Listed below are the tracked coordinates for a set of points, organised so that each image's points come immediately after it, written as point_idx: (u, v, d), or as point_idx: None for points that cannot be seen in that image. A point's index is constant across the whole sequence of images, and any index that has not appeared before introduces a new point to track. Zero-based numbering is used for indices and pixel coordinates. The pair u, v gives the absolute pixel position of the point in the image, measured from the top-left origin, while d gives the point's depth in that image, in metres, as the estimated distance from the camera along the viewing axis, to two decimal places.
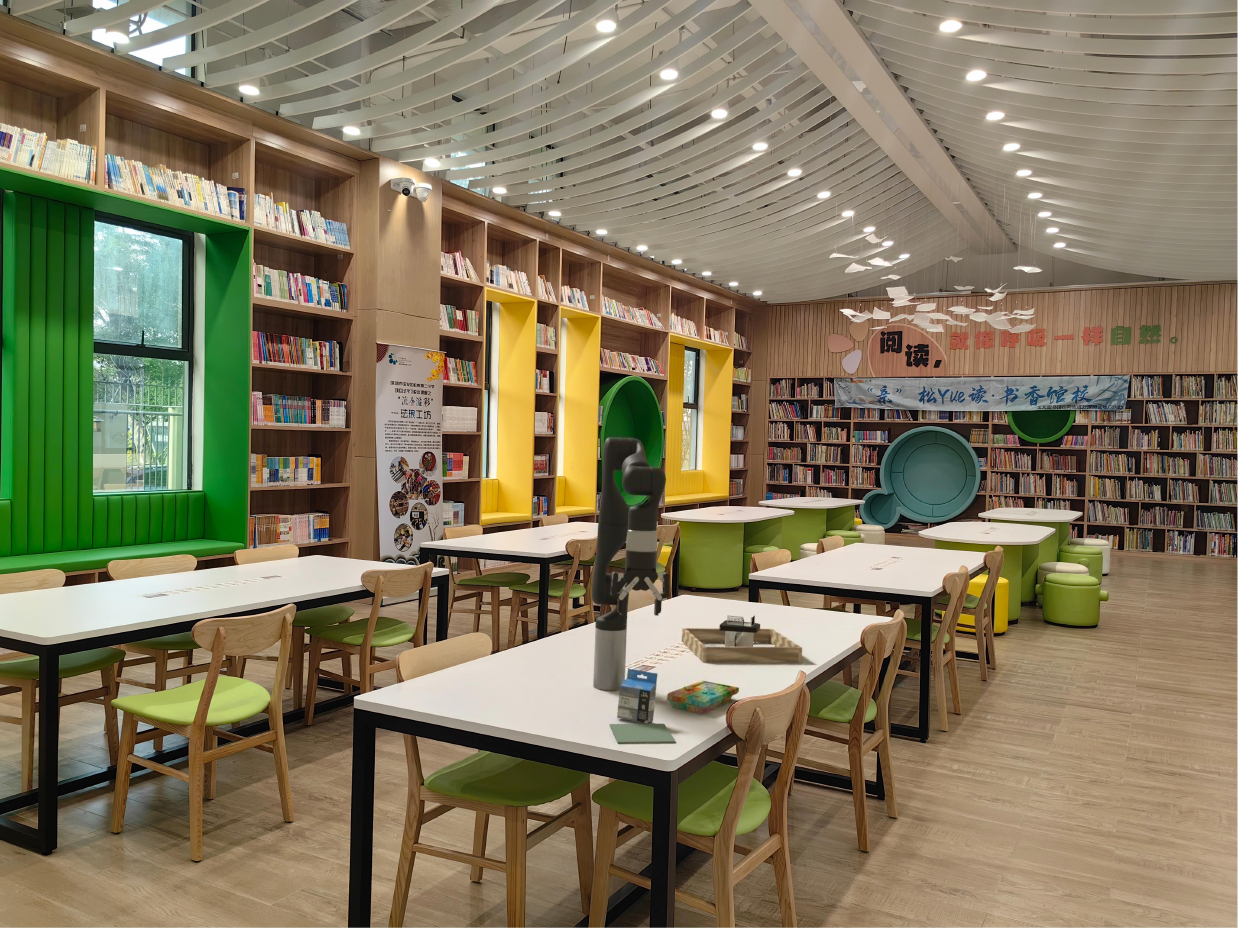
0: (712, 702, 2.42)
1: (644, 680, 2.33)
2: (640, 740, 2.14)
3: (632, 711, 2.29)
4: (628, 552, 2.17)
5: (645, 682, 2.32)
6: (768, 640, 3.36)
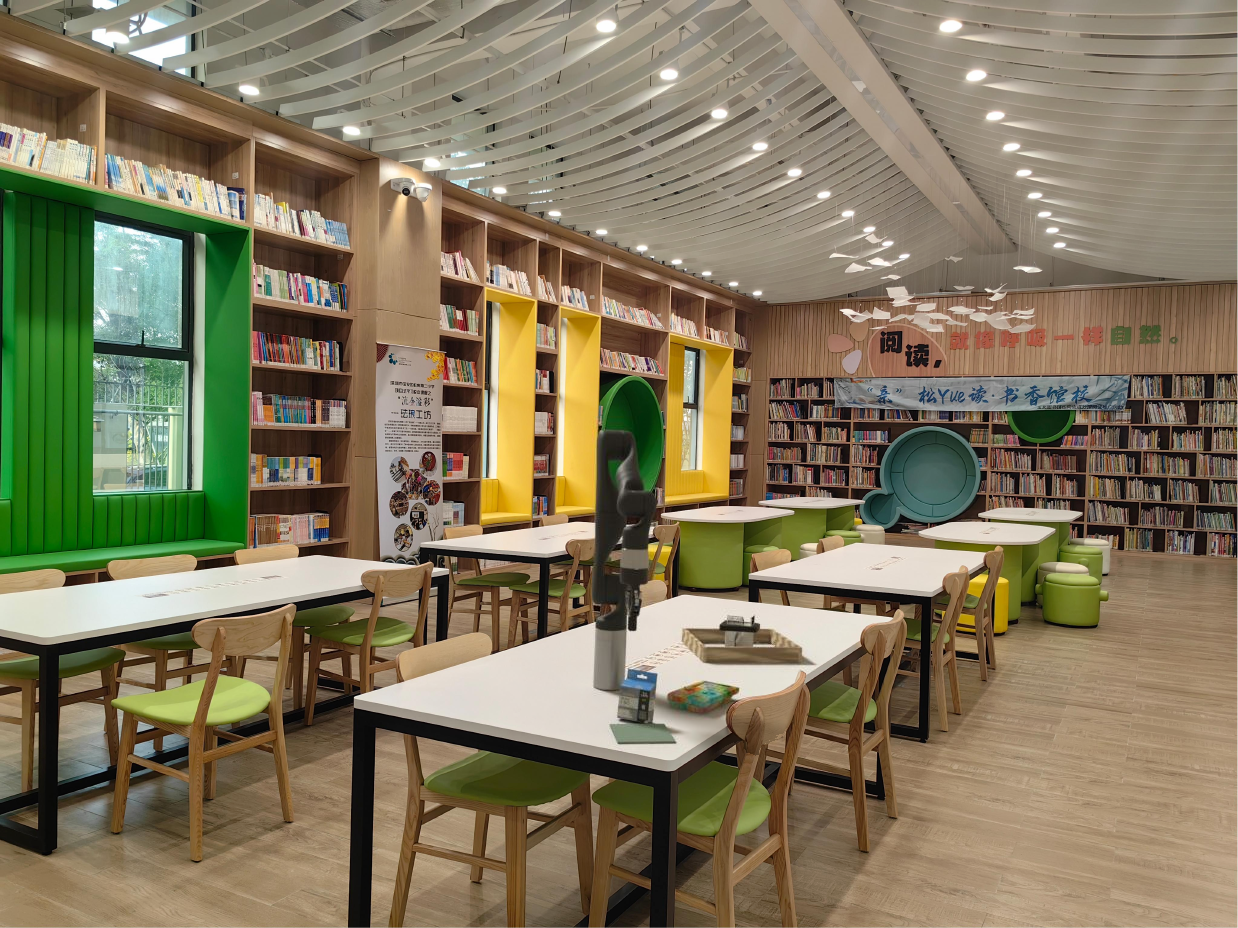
0: (712, 702, 2.42)
1: (644, 680, 2.33)
2: (640, 740, 2.14)
3: (632, 711, 2.29)
4: (642, 570, 2.36)
5: (645, 682, 2.32)
6: (768, 640, 3.36)
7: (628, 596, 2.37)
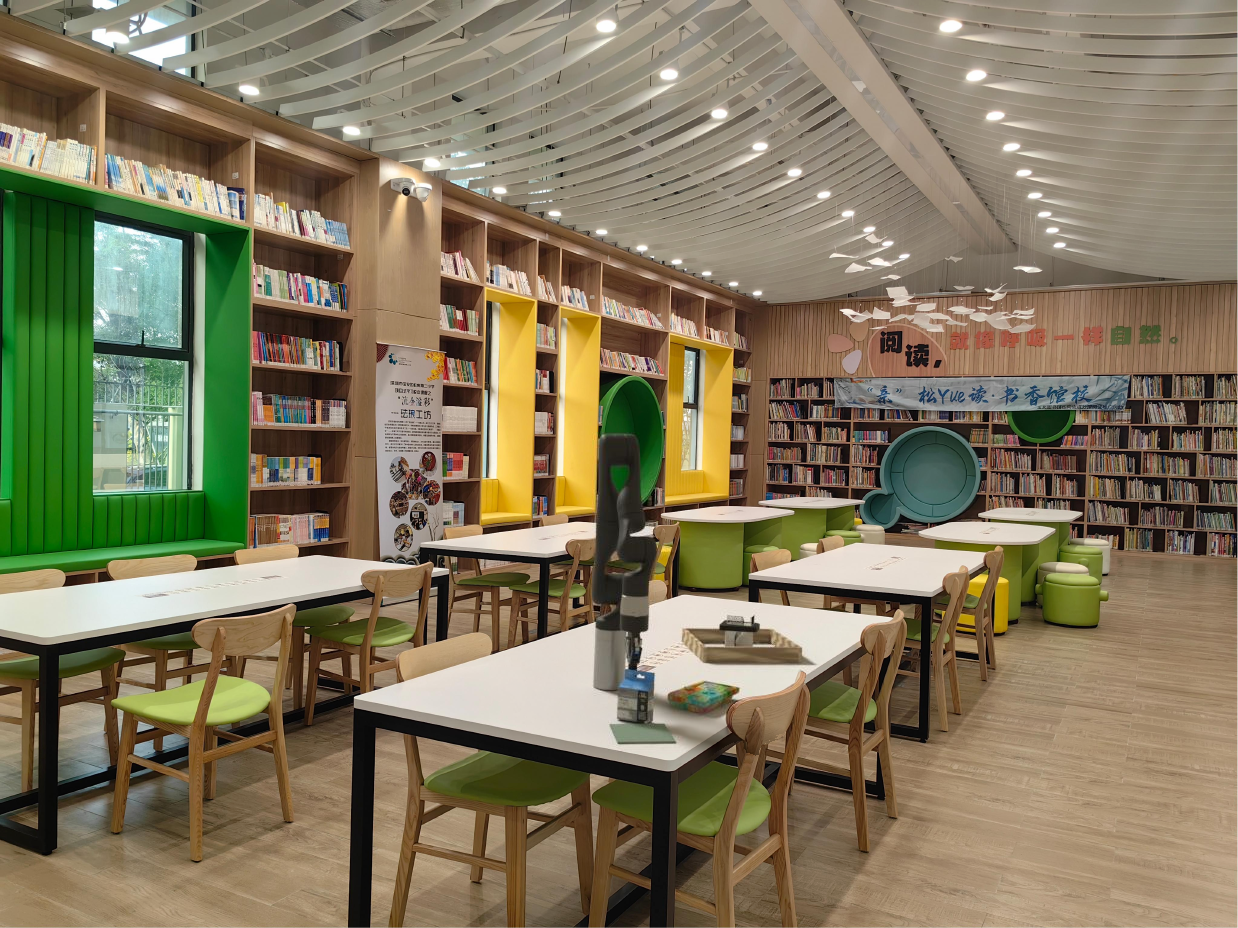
0: (712, 702, 2.42)
1: (642, 680, 2.32)
2: (640, 740, 2.14)
3: (631, 712, 2.29)
4: (642, 617, 2.33)
5: (643, 682, 2.32)
6: (768, 640, 3.36)
7: (628, 643, 2.34)
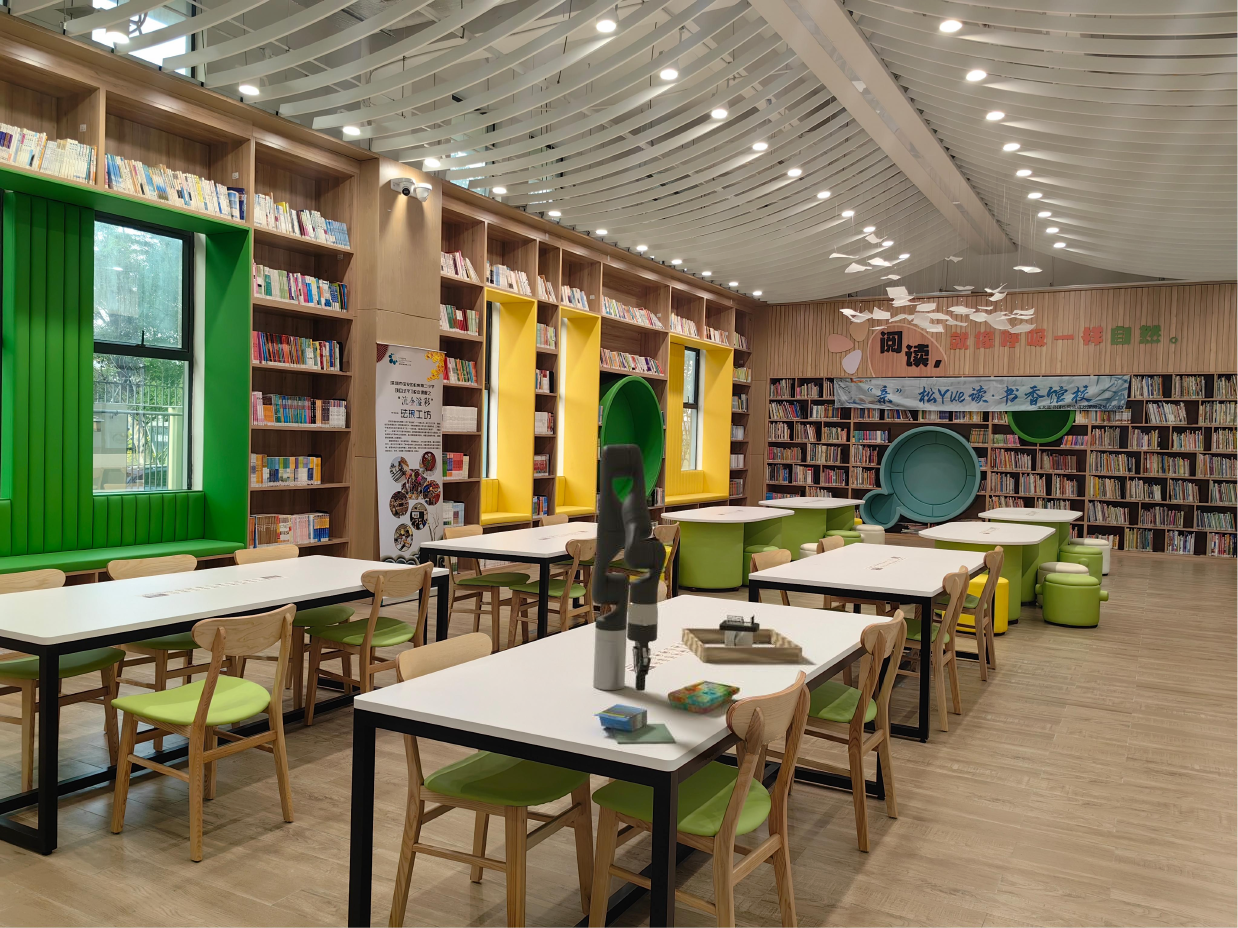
0: (712, 702, 2.42)
1: (616, 717, 2.20)
2: (640, 740, 2.14)
3: None
4: (650, 626, 2.21)
5: None
6: (768, 640, 3.36)
7: (636, 654, 2.23)
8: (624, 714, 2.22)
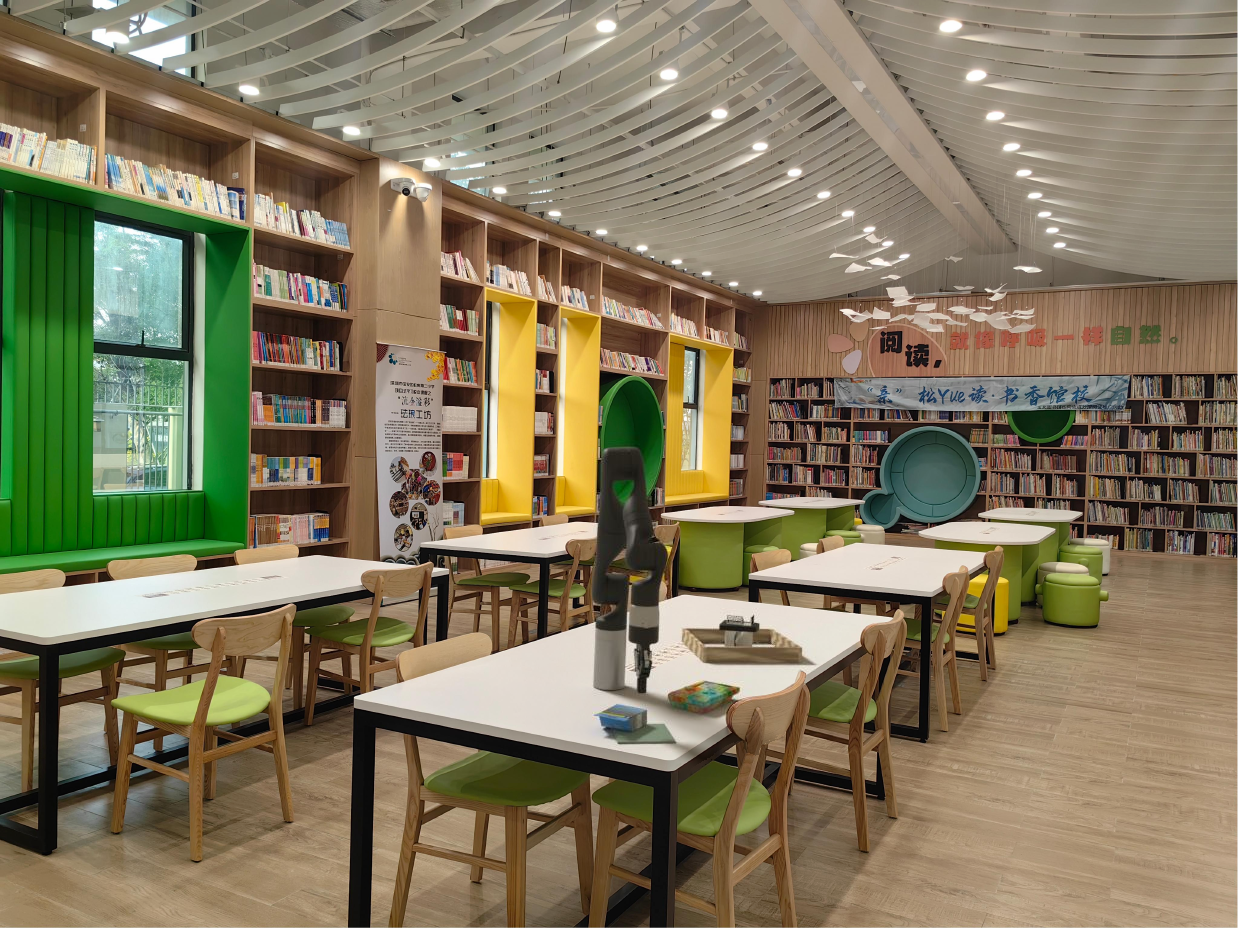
0: (713, 702, 2.42)
1: (616, 717, 2.20)
2: (640, 740, 2.14)
3: None
4: (652, 628, 2.19)
5: None
6: (768, 640, 3.36)
7: (637, 656, 2.21)
8: (624, 714, 2.22)
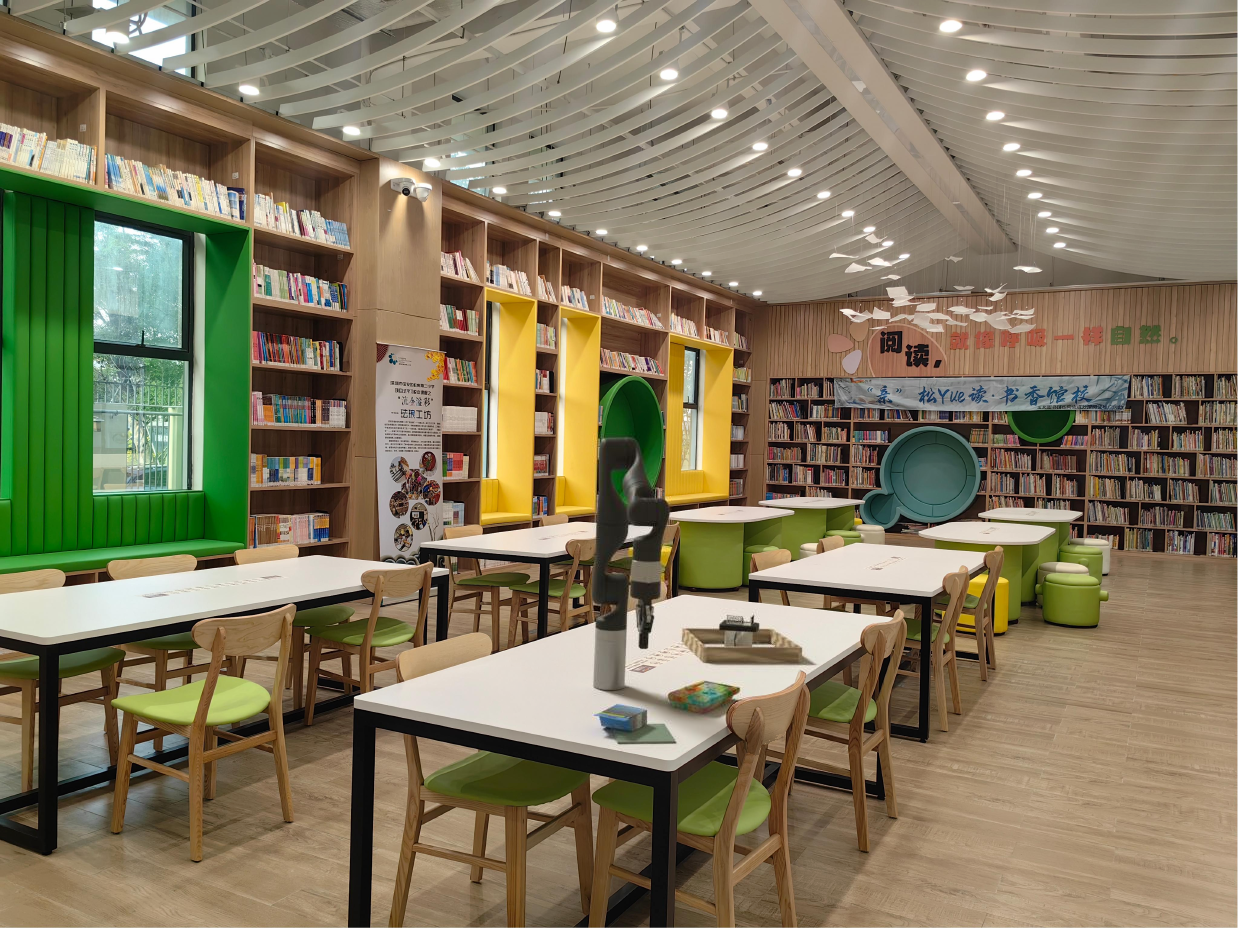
0: (713, 702, 2.42)
1: (616, 717, 2.20)
2: (640, 740, 2.14)
3: None
4: (654, 584, 2.19)
5: None
6: (768, 640, 3.36)
7: (639, 611, 2.20)
8: (624, 714, 2.22)
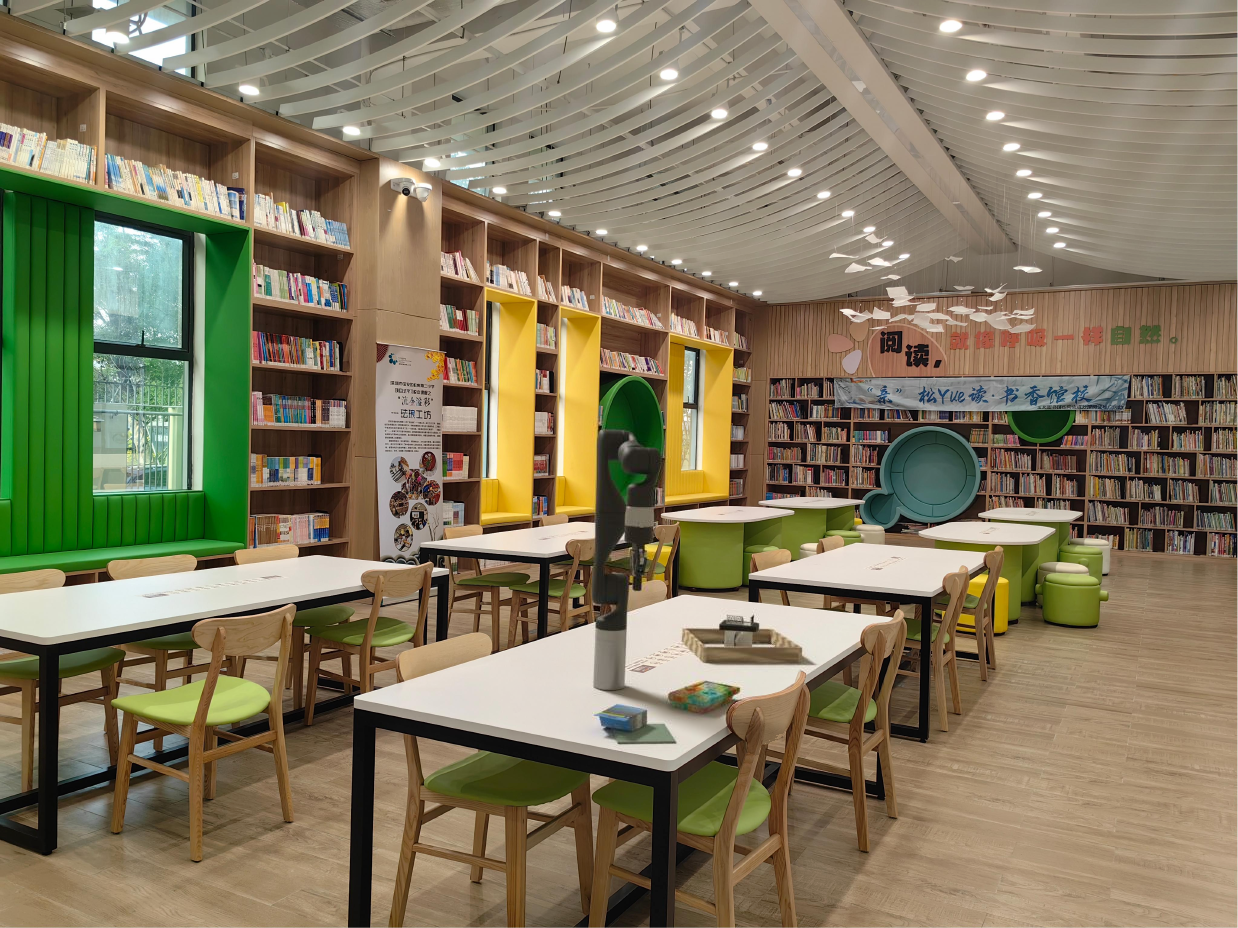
0: (713, 702, 2.42)
1: (616, 717, 2.20)
2: (640, 740, 2.14)
3: None
4: (647, 528, 2.31)
5: None
6: (768, 640, 3.36)
7: (633, 555, 2.32)
8: (624, 714, 2.22)
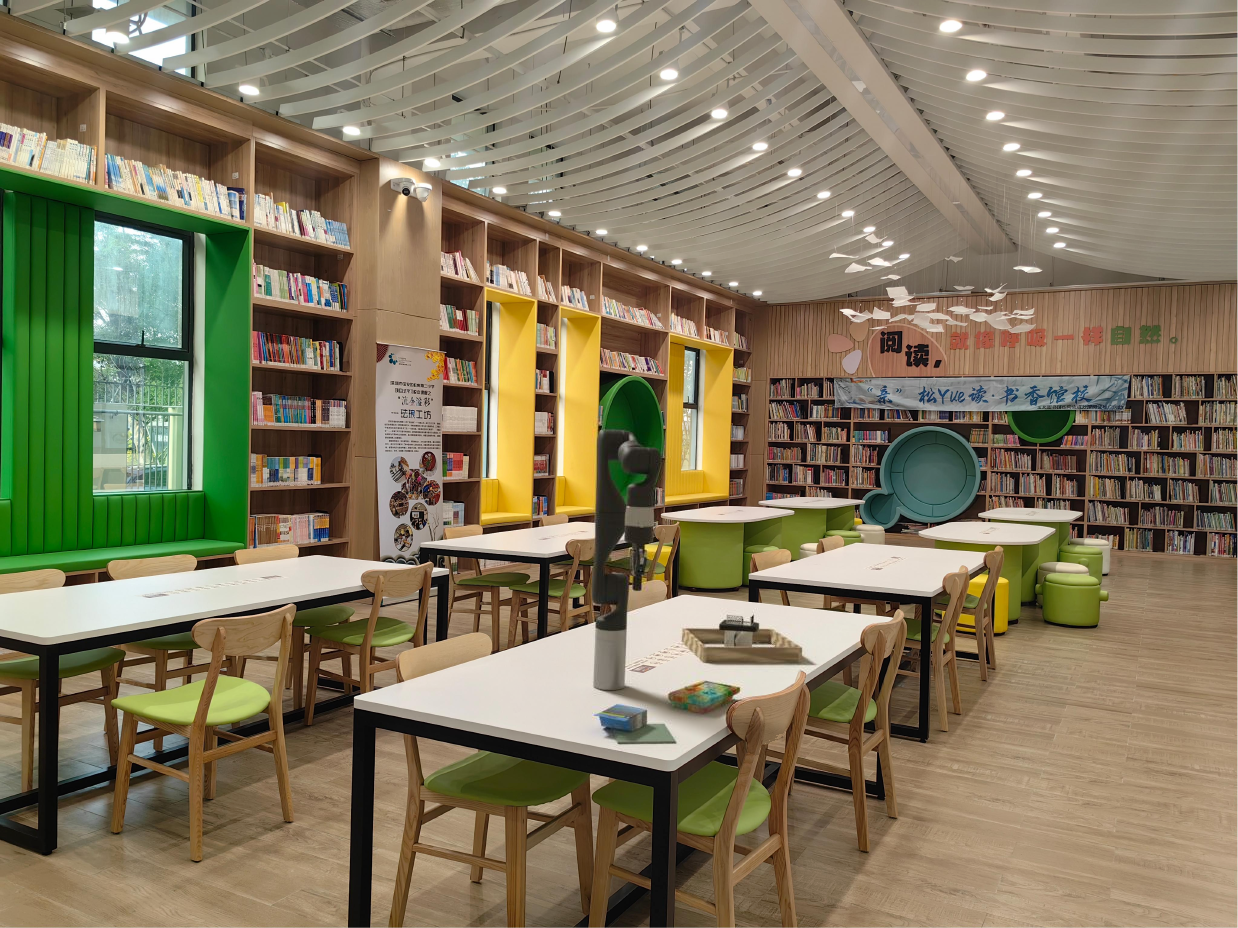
0: (713, 702, 2.42)
1: (616, 717, 2.20)
2: (640, 740, 2.14)
3: None
4: (647, 528, 2.31)
5: None
6: (768, 640, 3.36)
7: (633, 555, 2.32)
8: (624, 714, 2.22)
